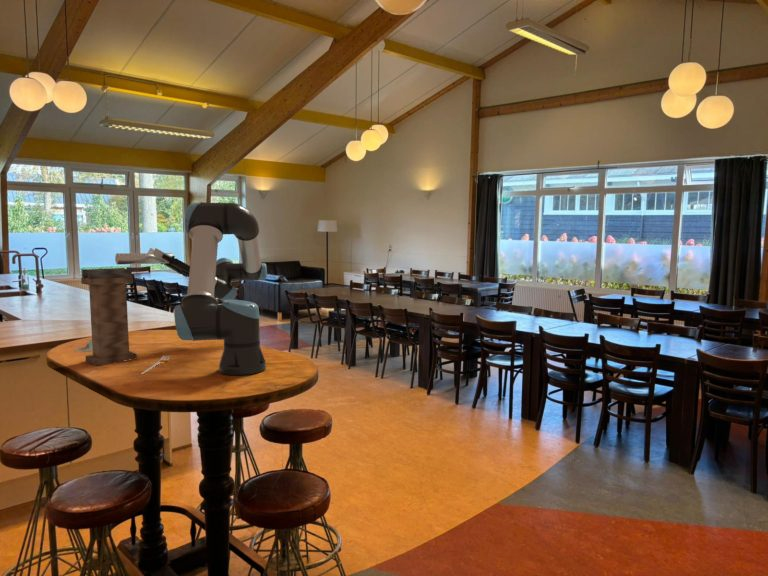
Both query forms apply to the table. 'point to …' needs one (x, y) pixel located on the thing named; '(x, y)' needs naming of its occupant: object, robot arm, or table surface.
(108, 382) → the table surface
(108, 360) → the walnut stand
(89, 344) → the metal bracket
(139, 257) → the chrome rounded rod
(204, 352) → the table surface
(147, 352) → the table surface
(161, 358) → the fork
